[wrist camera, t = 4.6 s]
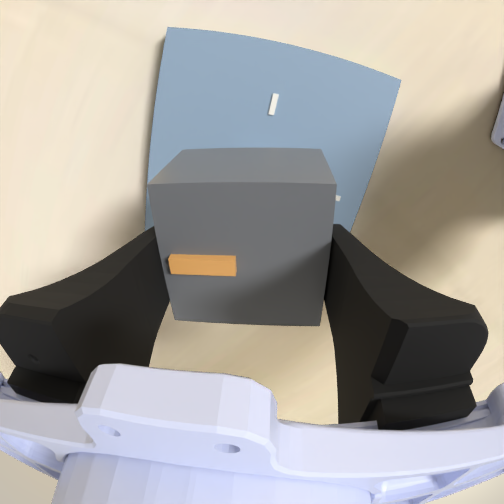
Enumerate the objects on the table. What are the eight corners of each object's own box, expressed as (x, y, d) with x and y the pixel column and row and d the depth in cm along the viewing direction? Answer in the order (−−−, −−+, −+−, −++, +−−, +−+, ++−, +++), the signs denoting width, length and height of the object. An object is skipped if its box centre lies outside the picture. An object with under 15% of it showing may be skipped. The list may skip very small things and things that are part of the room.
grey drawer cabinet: (321, 149, 12) (338, 188, 9) (312, 265, 15) (320, 331, 12) (182, 149, 13) (143, 188, 9) (196, 262, 16) (173, 325, 12)
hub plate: (395, 79, 15) (420, 84, 12) (319, 292, 24) (324, 327, 21) (172, 28, 15) (151, 22, 12) (148, 258, 23) (132, 289, 20)
